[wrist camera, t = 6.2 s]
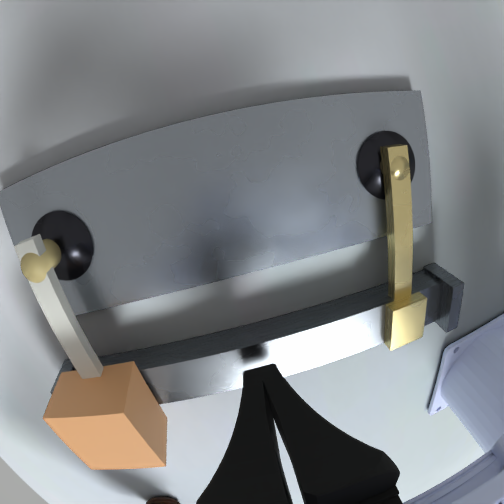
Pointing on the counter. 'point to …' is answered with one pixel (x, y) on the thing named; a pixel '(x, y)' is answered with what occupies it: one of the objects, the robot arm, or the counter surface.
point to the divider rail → (313, 317)
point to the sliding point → (93, 383)
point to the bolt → (162, 500)
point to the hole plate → (221, 195)
